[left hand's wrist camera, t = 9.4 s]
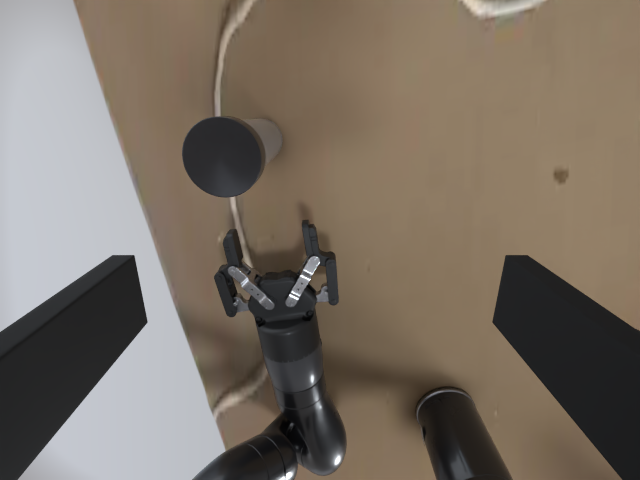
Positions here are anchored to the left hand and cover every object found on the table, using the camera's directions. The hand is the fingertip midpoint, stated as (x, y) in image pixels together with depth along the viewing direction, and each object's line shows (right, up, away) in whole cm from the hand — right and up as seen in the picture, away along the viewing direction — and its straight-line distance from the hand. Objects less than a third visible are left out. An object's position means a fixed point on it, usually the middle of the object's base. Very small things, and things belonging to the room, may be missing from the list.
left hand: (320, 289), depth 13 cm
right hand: (-6, +3, +27) cm, 28 cm away
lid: (-7, +8, +13) cm, 17 cm away
